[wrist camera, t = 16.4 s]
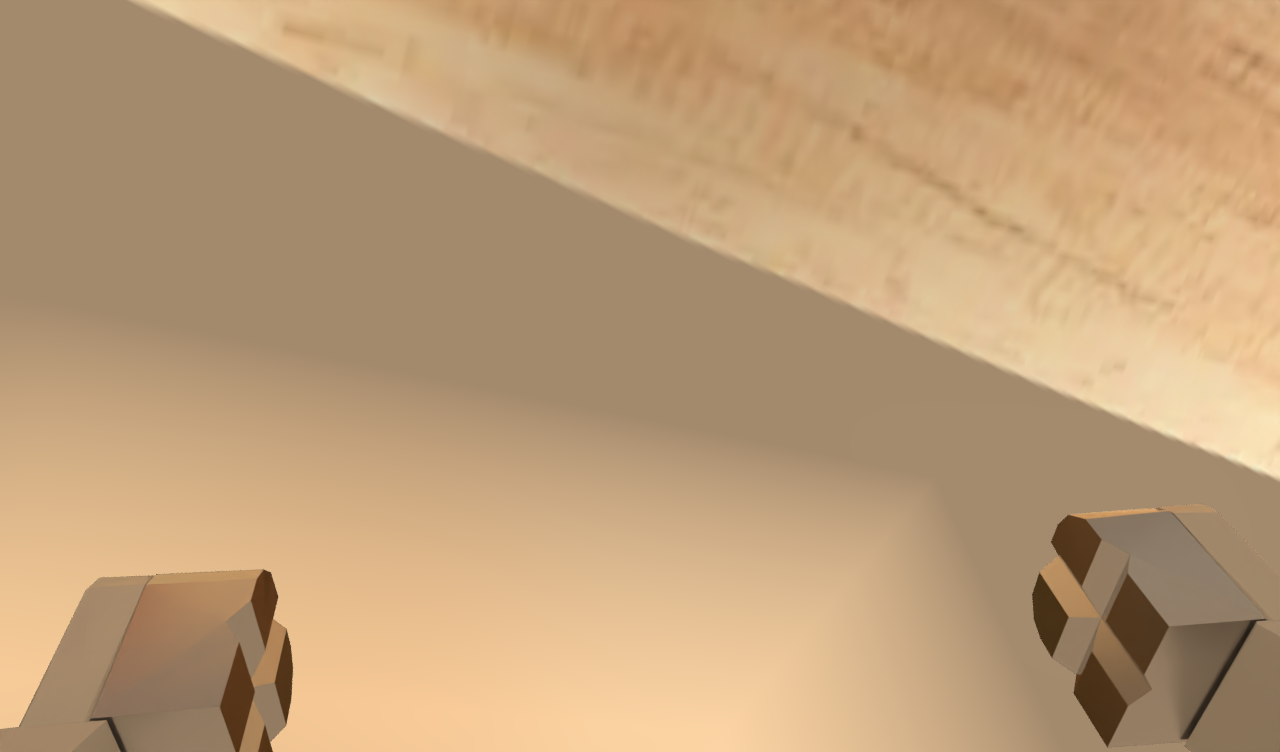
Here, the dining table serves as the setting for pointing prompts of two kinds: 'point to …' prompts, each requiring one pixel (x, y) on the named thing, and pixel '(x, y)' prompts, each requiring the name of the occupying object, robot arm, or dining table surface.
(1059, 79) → the dining table surface
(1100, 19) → the dining table surface
